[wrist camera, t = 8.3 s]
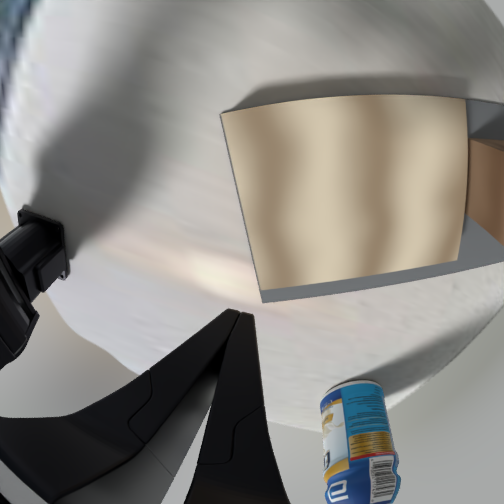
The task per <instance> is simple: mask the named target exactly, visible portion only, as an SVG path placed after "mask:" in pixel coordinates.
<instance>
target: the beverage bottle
mask: <svg viewBox="0 0 504 504" xmlns="http://www.w3.org/2000/svg"><path fill="white" fill-rule="evenodd" d="M320 409H321V415H322V428H323V446H324V469H323V478H324V481H325V482H326V483H327V485H328V489H327V491H326V493H325V498H326V501H327V503H328V504H392V503H393V502H394V500H395V498H396V496H397V494H398V491H399V488H400V482H401V478H400V476H399V475H398V474H397V471H396V470H397V467H398V464H399V458H398V454H397V452H396V451H395V448H394V443H393V438H392V433H391V429H390V424H389V419H388V415H387V410H386V406H385V400H384V393H383V389H382V387H381V386H380V385H379V384H378V383H376V382H373V381H368V380H358V381H352V382H347V383H344V384H341V385H339V386H336V387H334V388H333V389H331V390H329V391H328V392H327V393H326V394H325V395H324V396H323V397H322V399H321V402H320Z"/></svg>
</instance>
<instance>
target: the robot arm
mask: <svg viewBox="0 0 504 504" xmlns="http://www.w3.org/2000/svg"><path fill="white" fill-rule="evenodd" d="M17 214H18V223H19V225H18V226H17V227H16V228H14V229H13V230H12V231H10V232H9V233H8V234H7V235H5V236H4V237H3V238H1V239H0V370H1V369H2V368H3V367H4V366H5V365H6V364H8V363H10V362H12V361H14V360H15V359H16V358H17V357H18V356H19V355H20V354H21V353H22V352H23V350H24V349H25V347H26V345H27V342H28V340H29V338H30V336H31V334H32V331H33V329H34V327H35V325H36V323H37V321H38V319H39V316H40V315H39V314H38V312H37V311H36V310H35V309H34V307H33V306H32V304H31V303H32V302H33V300H34V299H35V298H36V297H37V296H38V295H39V293H40V292H45V291H46V290H47V289H48V288H49V287H50V286H51V284H52V283H53V282H54V281H55V280H56V279H57V278H59V279H61V280H65V279H66V278H67V267H66V258H65V246H64V232H63V226H62V224H61V223H59V222H56V221H54V220H51V219H48V218H45V217H43V216H40V215H37V214H34V213H32V212H29V211H26V210H23V209H21V210H19V211H18V213H17ZM58 228H59V229H58ZM210 406H211V408H210ZM209 408H210V412H209V416H208V421H207V425H206V429H205V433H204V437H203V441H202V445H201V449H200V453H199V458H198V461H197V466H196V469H195V473H194V477H193V480H192V483H191V486H190V489H189V491H188V494H187V496H186V499H185V501H184V504H290V501H289V499H288V497H287V494H286V491H285V488H284V486H283V482H282V479H281V476H280V472H279V469H278V466H277V463H276V459H275V456H274V452H273V449H272V445H271V441H270V436H269V433H268V426H267V419H266V412H265V406H264V396H263V388H262V379H261V371H260V362H259V354H258V345H257V337H256V328H255V319H254V315H253V314H250V313H246V312H241V313H240V311H238V310H234V309H226V310H225V311H224V312H222V313H221V314H220V315H219V316H217V317H216V318H215V319H214V320H212V321H211V322H210V323H208V324H207V325H206V326H205V327H203V328H202V329H201V330H199V331H198V332H197V333H196V334H194V335H193V336H192V337H190V338H189V339H188V340H186V341H185V342H184V343H183V344H181V345H180V346H179V347H177V348H176V349H175V350H173V351H172V352H171V353H169V354H168V355H167V356H165V357H164V358H163V359H161V360H160V361H159V362H157V363H156V364H155V365H153V366H152V367H151V368H150V369H149V370H146V371H145V372H144V373H142V374H141V375H140V376H138V377H137V378H136V379H134V380H133V381H131V382H130V383H128V384H127V385H125V386H124V387H122V388H120V389H119V390H117V391H115V392H113V393H112V394H110V395H108V396H106V397H104V398H103V399H101V400H99V401H97V402H95V403H93V404H91V405H89V406H87V407H86V408H84V409H82V410H80V411H78V412H75V413H73V414H70V415H66V416H61V417H45V418H44V417H43V418H6V417H0V504H161V502H162V500H163V498H164V497H165V495H166V493H167V491H168V489H169V487H170V485H171V483H172V482H173V480H174V477H175V476H176V474H177V472H178V470H179V468H180V466H181V464H182V462H183V460H184V458H185V456H186V454H187V452H188V450H189V448H190V446H191V444H192V442H193V440H194V438H195V436H196V434H197V432H198V430H199V428H200V426H201V424H202V422H203V420H204V418H205V416H206V414H207V412H208V410H209Z"/></svg>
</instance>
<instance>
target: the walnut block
mask: <svg viewBox="0 0 504 504" xmlns="http://www.w3.org/2000/svg"><path fill="white" fill-rule="evenodd" d="M464 213H465V214H467V215H468V216H469V217H470V218H471V219H473V220H474V221H475V222H476V223H478V224H479V225H480V226H481V227H482V228H484V229H485V230H486V231H487V232H488V233H489V234H490V235H492V236H493V237H494V238H495V239H496V240H497V241H498V242H499V243H500V244H502V245H503V246H504V140H493V139H478V138H468V168H467V188H466V201H465V211H464Z"/></svg>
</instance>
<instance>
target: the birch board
mask: <svg viewBox="0 0 504 504" xmlns="http://www.w3.org/2000/svg"><path fill="white" fill-rule="evenodd" d="M221 117H222V121H223V126H224V130H225V134H226V139H227V143H228V148H229V152H230V157H231V161H232V165H233V170H234V174H235V179H236V183H237V187H238V192H239V196H240V201H241V205H242V209H243V214H244V218H245V223H246V227H247V232H248V236H249V240H250V245H251V249H252V254H253V258H254V262H255V267H256V271H257V276H258V280H259V285H260V289H261V290H268V289H277V288H285V287H293V286H300V285H308V284H316V283H323V282H330V281H337V280H344V279H351V278H357V277H364V276H370V275H376V274H383V273H389V272H395V271H401V270H406V269H412V268H418V267H423V266H429V265H434V264H440V263H445V262H450V261H455V260H457V258H458V253H459V247H460V241H461V234H462V227H463V220H464V211H465V201H466V188H467V168H468V136H467V116H466V103H465V99H460V98H450V97H439V96H423V95H354V96H337V97H325V98H315V99H306V100H297V101H290V102H282V103H276V104H270V105H263V106H258V107H252V108H247V109H242V110H237V111H232V112H227V113H223V114H221Z"/></svg>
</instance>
